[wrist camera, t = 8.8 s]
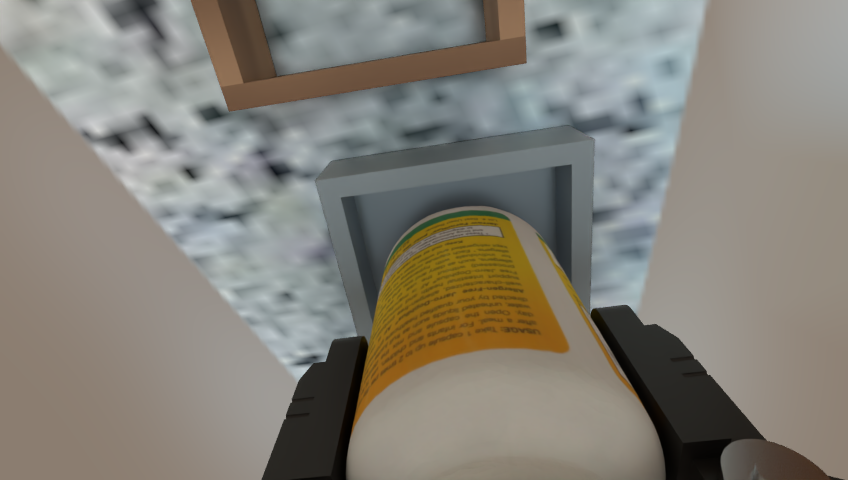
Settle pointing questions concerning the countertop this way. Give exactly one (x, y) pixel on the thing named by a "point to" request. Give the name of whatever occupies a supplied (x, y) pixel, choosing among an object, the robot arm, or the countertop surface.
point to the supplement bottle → (491, 366)
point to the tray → (459, 201)
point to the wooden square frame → (259, 85)
